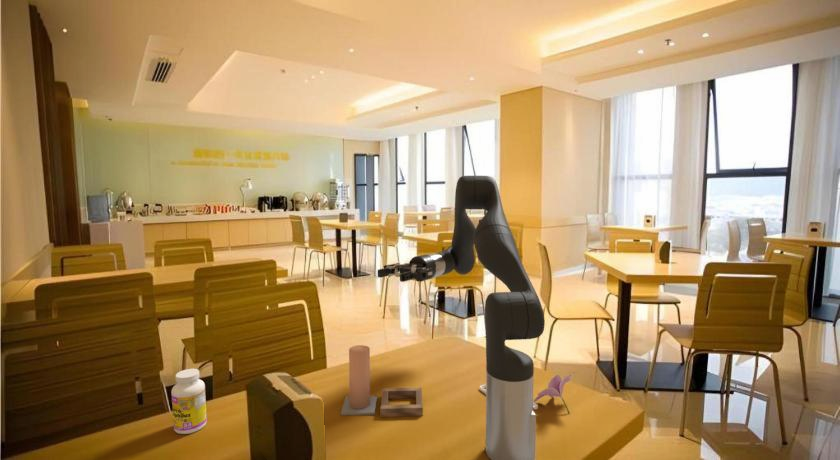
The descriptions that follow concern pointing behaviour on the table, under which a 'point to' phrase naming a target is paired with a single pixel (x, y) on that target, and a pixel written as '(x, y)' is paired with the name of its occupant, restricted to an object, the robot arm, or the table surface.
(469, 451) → the table surface
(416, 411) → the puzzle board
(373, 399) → the mat
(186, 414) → the supplement bottle
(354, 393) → the post
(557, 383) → the lily
